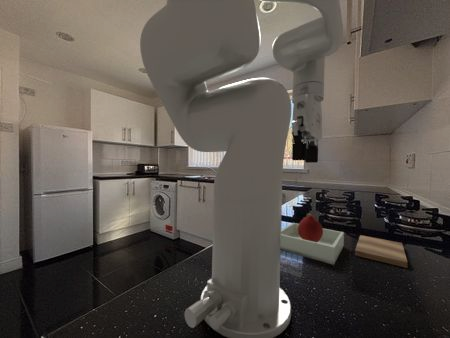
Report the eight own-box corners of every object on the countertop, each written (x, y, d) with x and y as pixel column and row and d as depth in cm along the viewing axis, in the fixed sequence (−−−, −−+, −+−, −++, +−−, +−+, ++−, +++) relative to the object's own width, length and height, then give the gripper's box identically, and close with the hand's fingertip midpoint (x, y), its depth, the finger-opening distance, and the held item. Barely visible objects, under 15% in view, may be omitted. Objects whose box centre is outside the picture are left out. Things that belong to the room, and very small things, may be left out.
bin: (333, 264, 41) (334, 247, 41) (274, 247, 49) (274, 233, 49) (343, 246, 52) (343, 232, 52) (292, 234, 60) (293, 222, 60)
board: (407, 268, 41) (407, 262, 41) (354, 255, 46) (355, 250, 46) (401, 247, 52) (402, 243, 52) (360, 239, 57) (360, 235, 57)
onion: (317, 241, 53) (318, 211, 53) (326, 250, 47) (327, 216, 47) (294, 240, 53) (295, 210, 53) (301, 248, 48) (302, 215, 48)
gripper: (313, 78, 42) (310, 158, 42) (331, 102, 56) (329, 163, 55) (279, 87, 47) (277, 159, 47) (303, 107, 60) (302, 163, 60)
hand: (305, 161), depth 51 cm, fingers open, 9 cm apart
